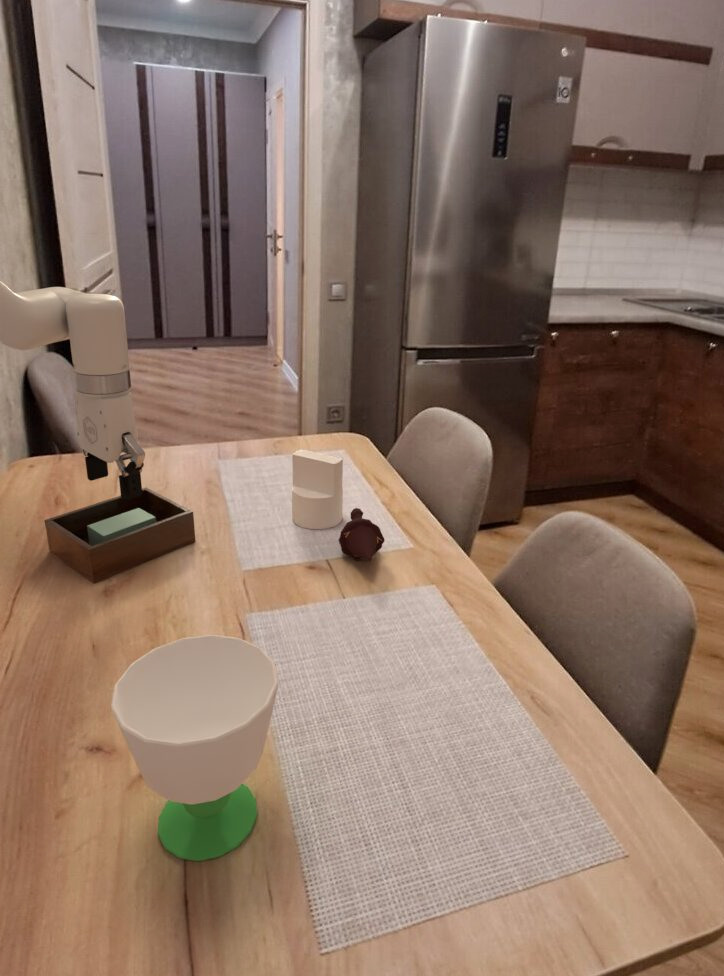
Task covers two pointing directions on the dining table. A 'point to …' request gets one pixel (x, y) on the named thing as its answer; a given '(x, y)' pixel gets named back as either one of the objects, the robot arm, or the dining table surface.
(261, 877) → the dining table surface
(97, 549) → the box
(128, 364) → the robot arm
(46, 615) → the dining table surface
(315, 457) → the base with upright slab
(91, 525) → the block
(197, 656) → the cup
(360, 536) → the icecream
